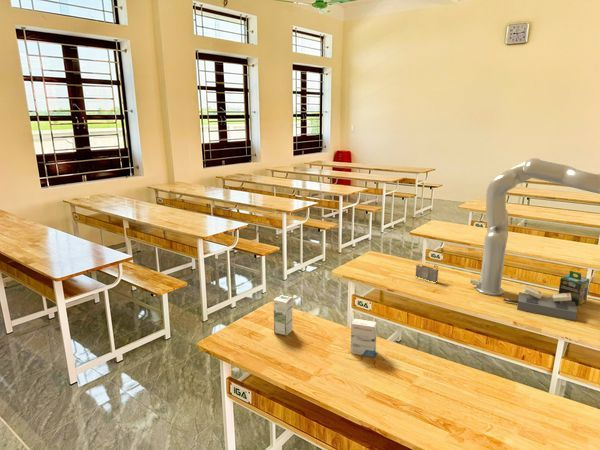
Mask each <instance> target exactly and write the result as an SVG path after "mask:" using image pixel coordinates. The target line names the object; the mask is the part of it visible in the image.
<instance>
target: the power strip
mask: <svg viewBox="0 0 600 450" xmlns="http://www.w3.org/2000/svg"><path fill="white" fill-rule="evenodd" d="M503 301H504V302H508V303H513V304H517V306H516V310H518V311H523V312H527V313H534V314H539V315H543V316H548V317H553V318H558V319H564V320H568V321H574V322H576V319H577V313H578V311H577V306H576V305H575V302H571V301H553V297H549V296H544V295H542V296H541V298H537V297H535V296H533V295H530V294H528V293H526V292H521V291H519V292H518V300H514V299H510V298H505V297H504V298H503Z"/></svg>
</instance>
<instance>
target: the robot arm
mask: <svg viewBox="0 0 600 450" xmlns="http://www.w3.org/2000/svg"><path fill="white" fill-rule="evenodd" d="M531 179H534V180H540V181H544V182H548V183H552V184H557V185H561V186H564V187H569V188H573V189H577V190H581V191H584V192H585V191H586V192H589V193H590V192H591V193H595V194H599V195H600V173H598V174H596V173H592V172H587V171H583V170H580V169H577V168H576V167H572V166H569V165H567V164H563V163H562V164H561V163H557V162H556V163H555V162H551V161H547V160H543V159H542V160H541V159H539V158H537V157H534V158H529V159H528V160H525V161H524V162H522V163H519V164H517V165H515V166H513V167H511V168H509V169H506V170H504V171H503V172H502V173H501V174H500V175H497V176H496V177H495V178H493V179H492V180H491V181H490V182H489V184H488V186H487V190H486V195H485V196H486V197H485V198H486V200H485V221H486V224H487V225H486V226H487V227H486V229H487V233H486V234H485V237H484V241H483V243H484V244H483V253H482V254H483V255H482V261H481V263H482V265H481V270H480V271H481V272H480V278H479V279H478V280H475V279H470V284H472V285H473V286H475V291H477V292H478V293H480V294H483V295H487V296H497V297H498V296H501V295H503V294H504V289H503V288H501V287H502V279H503V273H504V265H505V256H506V248H507V242H508V238H509V214H508V210H507V207H506V206H507V204H506V202H507V198H506V197H507V193H508V192H509V191H511V190H512V189H514V188H516V187H517V186H518V185H519V184H522V183H524V182H526V181H528V180H531Z"/></svg>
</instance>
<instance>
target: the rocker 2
mask: <svg viewBox="0 0 600 450" xmlns="http://www.w3.org/2000/svg"><path fill="white" fill-rule="evenodd" d="M552 298H553V301H568V300H571V294H570V293H562V294H558V293H552Z"/></svg>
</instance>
